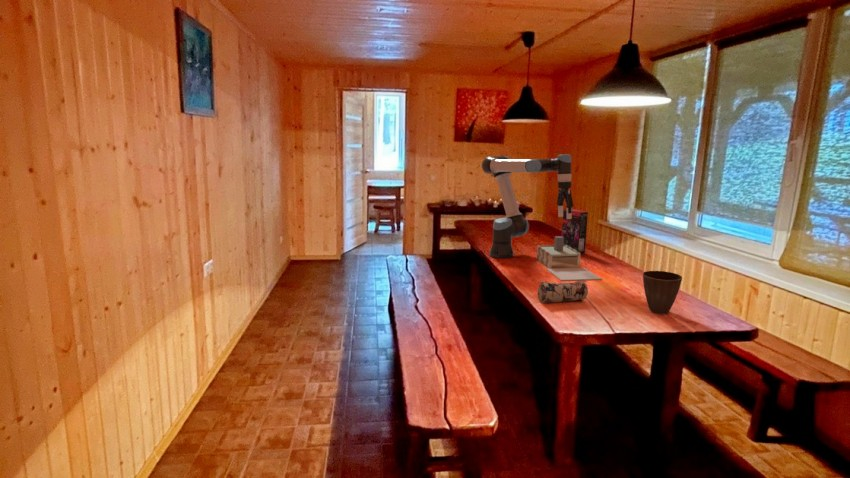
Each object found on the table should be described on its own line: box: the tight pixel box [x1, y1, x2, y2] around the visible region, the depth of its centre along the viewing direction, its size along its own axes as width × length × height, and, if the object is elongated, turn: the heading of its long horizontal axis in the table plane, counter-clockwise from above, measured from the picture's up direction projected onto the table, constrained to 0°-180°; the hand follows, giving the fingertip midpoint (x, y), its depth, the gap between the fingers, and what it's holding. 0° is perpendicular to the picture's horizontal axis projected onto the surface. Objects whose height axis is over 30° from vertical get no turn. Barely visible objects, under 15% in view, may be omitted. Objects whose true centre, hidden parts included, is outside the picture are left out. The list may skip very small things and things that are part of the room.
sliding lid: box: [542, 235, 578, 257], centre depth 281 cm, size 20×16×9 cm
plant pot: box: [642, 270, 683, 315], centre depth 203 cm, size 15×15×16 cm
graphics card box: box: [561, 208, 589, 254], centre depth 313 cm, size 17×7×27 cm, turn 25°
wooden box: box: [536, 244, 582, 269], centre depth 283 cm, size 22×18×9 cm
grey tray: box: [546, 267, 603, 282], centre depth 261 cm, size 22×22×1 cm
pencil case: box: [537, 280, 589, 304], centre depth 217 cm, size 22×8×10 cm, turn 99°
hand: (564, 217), depth 280 cm, fingers open, 13 cm apart
